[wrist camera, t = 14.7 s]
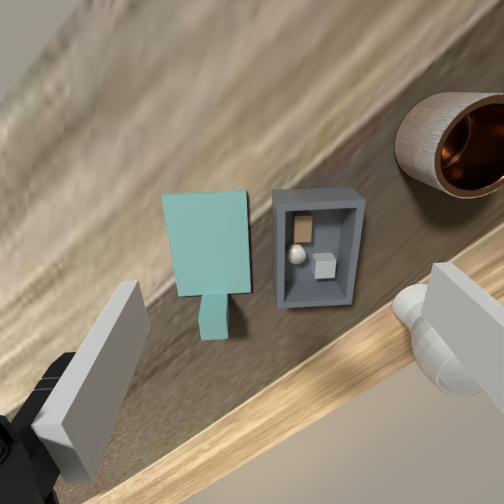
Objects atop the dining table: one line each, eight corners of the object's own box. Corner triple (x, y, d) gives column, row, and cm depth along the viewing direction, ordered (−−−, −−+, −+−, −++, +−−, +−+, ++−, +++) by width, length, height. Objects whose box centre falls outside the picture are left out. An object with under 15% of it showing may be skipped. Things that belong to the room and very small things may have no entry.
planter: (492, 111, 40) (562, 116, 31) (441, 189, 45) (490, 212, 36) (423, 77, 38) (477, 73, 29) (377, 163, 42) (412, 180, 34)
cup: (417, 333, 57) (472, 407, 44) (371, 314, 54) (414, 386, 41) (458, 289, 53) (533, 356, 39) (410, 266, 50) (473, 330, 37)
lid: (162, 193, 43) (150, 210, 37) (245, 189, 43) (247, 205, 37) (183, 312, 52) (175, 341, 46) (251, 308, 53) (253, 337, 46)
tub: (272, 190, 43) (277, 203, 38) (350, 186, 44) (366, 199, 38) (272, 285, 51) (277, 308, 45) (339, 282, 51) (351, 304, 46)
